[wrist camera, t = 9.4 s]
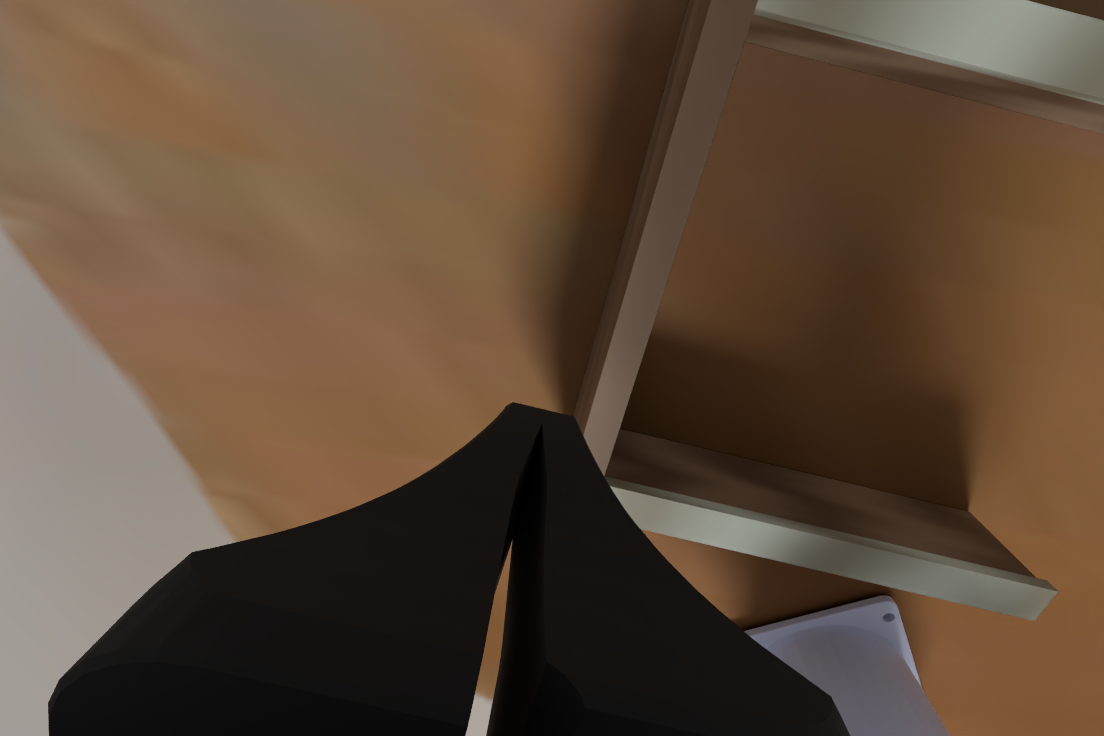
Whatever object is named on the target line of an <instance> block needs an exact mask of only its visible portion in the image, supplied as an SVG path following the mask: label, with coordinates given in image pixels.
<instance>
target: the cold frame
mask: <svg viewBox="0 0 1104 736" xmlns="http://www.w3.org/2000/svg"><path fill="white" fill-rule="evenodd" d="M744 42H748V43H752V44H756V45H760V46H763V47H767V48H771V49H775V50H779V51H783V52H787V53H791V54H794V55H798V56H802V57H806V58H810V59H814V60H818V61H822V62H825V63H829V64H833V65H837V66H841V67H845V68H849V69H853V70H856V71H860V72H864V73H868V74H872V75H876V76H880V77H884V78H887V79H891V80H895V81H899V82H903V83H907V84H911V85H915V86H918V87H922V88H926V89H930V90H934V91H938V92H942V93H946V94H949V95H953V96H957V97H961V98H965V99H969V100H973V101H977V102H980V103H984V104H988V105H992V106H996V107H1000V108H1004V109H1008V110H1011V111H1015V112H1019V113H1023V114H1027V115H1031V116H1035V117H1039V118H1042V119H1046V120H1050V121H1054V122H1058V123H1062V124H1066V125H1070V126H1074V127H1077V128H1081V129H1085V130H1089V131H1093V132H1097V133H1101V134H1104V20H1100V19H1096V18H1092V17H1088V16H1085V15H1081V14H1077V13H1073V12H1070V11H1066V10H1062V9H1058V8H1054V7H1051V6H1047V5H1043V4H1039V3H1035V2H1032V1H1028V0H689V3H688V7H687V10H686V14H685V17H684V21H683V24H682V28H681V32H680V35H679V39H678V42H677V46H676V49H675V53H674V57H673V60H672V64H671V67H670V71H669V74H668V78H667V82H666V85H665V89H664V92H663V96H662V99H661V103H660V107H659V110H658V114H657V117H656V121H655V124H654V128H653V132H652V135H651V139H650V142H649V146H648V150H647V153H646V157H645V160H644V164H643V167H642V171H641V175H640V178H639V182H638V185H637V189H636V192H635V196H634V200H633V203H632V207H631V210H630V214H629V217H628V221H627V225H626V228H625V232H624V235H623V239H622V242H621V246H620V250H619V253H618V257H617V260H616V264H615V268H614V271H613V275H612V278H611V282H610V285H609V289H608V293H607V296H606V300H605V303H604V307H603V310H602V314H601V318H600V321H599V325H598V328H597V332H596V335H595V339H594V343H593V346H592V350H591V353H590V357H589V360H588V364H587V368H586V371H585V375H584V378H583V382H582V385H581V389H580V393H579V396H578V400H577V403H576V407H575V411H574V414H573V417H575V419H576V421H577V422H578V424H579V427H580V429H581V431H582V434H583V436H584V438H585V440H586V442H587V444H588V447H589V449H590V451H591V453H592V455H593V457H594V459H595V461H596V462H597V464H598V466H599V468H600V470H601V471H602V473H603V475H604V477H605V479H606V480H607V482H608V484H609V485H610V487H611V489H612V490H613V492H614V494H615V495H616V497H617V498H618V500H619V501H620V503H621V504H622V506H623V507H624V509H625V510H626V511H627V513H628V514H629V515H630V517H631V518H632V519H633V521H634V522H635V523H636V524H637V526H638V527H639V528H640V529H643V530H647V531H651V532H655V533H660V534H664V535H668V536H673V537H677V538H681V539H685V540H690V541H694V542H698V543H703V544H707V545H711V546H715V547H720V548H724V549H728V550H733V551H737V552H741V553H745V554H750V555H754V556H758V557H763V558H767V559H771V560H775V561H780V562H784V563H788V564H793V565H797V566H801V567H805V568H810V569H814V570H818V571H823V572H827V573H831V574H835V575H840V576H844V577H848V578H853V579H857V580H861V581H865V582H870V583H874V584H878V585H883V586H887V587H891V588H895V589H900V590H904V591H908V592H913V593H917V594H921V595H925V596H930V597H934V598H938V599H942V600H947V601H951V602H955V603H960V604H964V605H968V606H972V607H977V608H981V609H985V610H990V611H994V612H998V613H1002V614H1007V615H1011V616H1015V617H1020V618H1024V619H1028V620H1032V621H1035V620H1036V618H1037V617H1038V616H1039V615H1040V613H1041V612H1042V611H1043V610H1044V609H1045V607H1046V606H1047V605H1048V604H1049V602H1050V601H1051V600H1052V599H1053V598H1054V596H1055V595H1056V594H1057V593H1058V591H1057V590H1056V589H1055V588H1054V587H1053V586H1052V585H1051V584H1050V583H1049V582H1048V581H1047V580H1042V579H1038V578H1036V577H1035V576H1034V575H1033V574H1032V573H1031V572H1030V571H1029V570H1028V569H1027V568H1026V567H1025V566H1024V565H1023V564H1022V563H1021V562H1020V561H1019V560H1018V559H1017V558H1016V557H1015V556H1014V555H1013V554H1012V553H1011V552H1010V551H1009V550H1008V549H1007V548H1006V547H1005V546H1003V545H1002V544H1001V543H1000V542H999V541H998V540H997V539H996V538H995V537H994V536H993V535H992V534H991V533H990V532H989V531H988V530H987V529H986V528H985V527H984V526H983V525H982V524H981V523H980V522H979V521H978V520H977V519H976V518H975V517H974V516H973V515H972V514H971V513H970V512H968V511H964V510H960V509H956V508H951V507H947V506H943V505H939V504H934V503H930V502H926V501H922V500H918V499H913V498H909V497H905V496H901V495H897V494H892V493H888V492H884V491H880V490H876V489H871V488H867V487H863V486H859V485H855V484H850V483H846V482H842V481H838V480H834V479H829V478H825V477H821V476H817V475H813V474H808V473H804V472H800V471H796V470H792V469H787V468H783V467H779V466H775V465H771V464H766V463H762V462H758V461H754V460H750V459H745V458H741V457H737V456H733V455H729V454H724V453H720V452H716V451H712V450H708V449H703V448H699V447H695V446H691V445H687V444H682V443H678V442H674V441H670V440H666V439H661V438H657V437H653V436H649V435H645V434H640V433H636V432H632V431H628V430H624V429H620V426H621V423H622V420H623V417H624V414H625V410H626V407H627V404H628V401H629V398H630V395H631V392H632V389H633V386H634V383H635V380H636V376H637V373H638V370H639V367H640V364H641V361H642V358H643V355H644V352H645V349H646V345H647V342H648V339H649V336H650V333H651V330H652V327H653V324H654V321H655V318H656V315H657V311H658V308H659V305H660V302H661V299H662V296H663V293H664V290H665V287H666V284H667V281H668V277H669V274H670V271H671V268H672V265H673V262H674V259H675V256H676V253H677V250H678V246H679V243H680V240H681V237H682V234H683V231H684V228H685V225H686V222H687V219H688V216H689V212H690V209H691V206H692V203H693V200H694V197H695V194H696V191H697V188H698V185H699V182H700V178H701V175H702V172H703V169H704V166H705V163H706V160H707V157H708V154H709V151H710V147H711V144H712V141H713V138H714V135H715V132H716V129H717V126H718V123H719V120H720V117H721V113H722V110H723V107H724V104H725V101H726V98H727V95H728V92H729V89H730V86H731V83H732V79H733V76H734V73H735V70H736V67H737V64H738V61H739V58H740V55H741V52H742V48H743V45H744Z"/></svg>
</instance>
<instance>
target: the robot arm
mask: <svg viewBox="0 0 1104 736" xmlns="http://www.w3.org/2000/svg"><path fill="white" fill-rule="evenodd" d="M512 539H513V541H512ZM511 542H512V551H511V561H510V571H509V581H508V591H507V602H506V612H505V622H504V633H503V643H502V651H501V658H500V665H499V672H498V677H497V682H496V688H495V693H494V698H493V703H492V708H491V714H490V719H489V725H488V730H487V735H486V736H950V734H949V733H948V731H947V729H946V728H945V726H944V724H943V723H942V721H941V719H940V718H939V716H938V714H937V713H936V711H935V709H934V708H933V706H932V704H931V703H930V701H929V699H928V698H927V696H926V694H925V693H924V691H923V689H922V686H921V682H920V679H919V676H918V673H917V669H916V666H915V663H914V659H913V656H912V653H911V649H910V646H909V643H908V639H907V636H906V633H905V630H904V626H903V623H902V620H901V616H900V613H899V610H898V606H897V605H896V603H895V602H894V600H893V599H892V598H891V597H889V596H885V595H883V596H877V597H873V598H869V599H866V600H862V601H858V602H854V603H850V604H846V605H843V606H839V607H835V608H831V609H827V610H823V611H819V612H816V613H812V614H808V615H804V616H800V617H796V618H792V619H789V620H785V621H781V622H777V623H773V624H769V625H766V626H762V627H758V628H754V629H750V630H746V631H743V630H742V629H741V628H739V627H738V626H737V625H736V624H735V623H733V622H732V621H731V620H730V619H729V618H728V617H726V616H725V615H724V614H723V613H722V612H720V611H719V610H718V609H717V608H716V607H715V606H714V605H713V604H711V603H710V602H709V601H708V600H707V599H706V598H705V597H704V596H703V595H702V594H700V593H699V592H698V591H697V590H696V589H695V588H694V587H693V586H692V585H691V584H690V583H689V582H688V581H687V580H686V579H685V578H684V577H683V576H682V575H681V574H680V573H679V572H678V571H677V570H676V569H675V568H674V567H673V566H672V565H671V564H670V563H669V562H668V561H667V560H666V558H665V557H664V556H663V555H662V554H661V553H660V552H659V551H658V550H657V549H656V547H655V546H654V545H653V544H652V543H651V541H650V540H649V539H648V538H647V537H646V535H645V534H644V533H643V532H642V531H641V529H640V528H639V527H638V526H637V524H636V523H635V522H634V521H633V519H632V518H631V517H630V515H629V514H628V513H627V511H626V510H625V509H624V507H623V506H622V504H621V503H620V501H619V500H618V498H617V497H616V495H615V494H614V492H613V490H612V489H611V487H610V485H609V484H608V482H607V480H606V479H605V477H604V475H603V473H602V471H601V470H600V468H599V466H598V464H597V462H596V461H595V459H594V457H593V455H592V453H591V451H590V449H589V447H588V444H587V442H586V440H585V438H584V436H583V434H582V431H581V429H580V427H579V424H578V422H577V421H576V419H575V417H573V416H569V415H565V414H560V413H556V412H552V411H548V410H544V409H539V408H535V407H531V406H527V405H523V404H518V403H514V402H513V403H511V404H509V405H507V406H506V407H505V409H504V410H503V411H502V412H501V413H500V414H499V416H498V417H497V418H496V419H495V420H494V421H493V422H492V423H490V424H489V425H488V426H487V427H486V428H485V429H484V430H483V431H482V432H481V433H479V434H478V435H477V436H476V437H475V438H473V439H472V440H471V441H470V442H469V443H468V444H466V445H465V446H464V447H462V448H461V449H460V450H458V451H457V452H455V453H454V454H453V455H451V456H450V457H448V458H447V459H446V460H444V461H443V462H441V463H440V464H439V465H437V466H436V467H434V468H432V469H431V470H429V471H428V472H426V473H424V474H423V475H421V476H419V477H418V478H416V479H414V480H412V481H411V482H409V483H407V484H405V485H403V486H402V487H400V488H398V489H396V490H394V491H392V492H389V493H387V494H385V495H383V496H380V497H378V498H376V499H373V500H371V501H369V502H366V503H364V504H362V505H360V506H357V507H355V508H352V509H350V510H347V511H344V512H341V513H339V514H336V515H333V516H330V517H327V518H324V519H321V520H318V521H315V522H312V523H308V524H305V525H302V526H299V527H296V528H292V529H289V530H285V531H281V532H278V533H274V534H270V535H266V536H262V537H257V538H253V539H249V540H245V541H240V542H236V543H232V544H228V545H224V546H219V547H215V548H210V549H205V550H200V551H196V552H192V553H191V554H189V555H188V556H187V557H186V558H185V559H184V560H183V561H182V562H180V563H179V564H178V565H177V566H176V567H175V568H173V569H172V570H171V571H170V572H169V573H168V574H166V575H165V576H164V577H163V578H162V579H160V580H159V581H158V582H157V583H156V584H154V585H153V586H152V587H151V588H150V589H149V590H148V591H147V592H146V593H145V594H144V595H143V596H142V597H141V598H140V599H139V600H138V601H137V602H136V603H135V604H134V605H132V607H130V609H129V610H128V611H127V612H126V613H125V614H124V615H123V616H122V617H121V618H120V619H119V620H118V621H117V622H116V623H115V624H114V625H113V626H112V627H111V628H110V629H109V630H108V631H107V632H106V633H105V634H104V635H103V636H102V637H101V638H100V639H99V640H98V641H97V642H96V643H95V644H94V645H93V646H92V647H91V648H90V649H89V650H88V651H87V652H86V653H85V654H84V655H83V656H82V657H81V658H80V659H79V660H78V661H77V662H76V663H75V664H74V665H73V666H72V667H71V668H70V669H69V670H68V671H67V672H66V674H64V676H62V677H61V678H60V680H59V682H58V684H57V686H56V688H55V690H54V692H53V694H52V696H51V698H50V700H49V702H48V714H49V736H465V734H466V731H467V727H468V722H469V718H470V713H471V709H472V704H473V700H474V695H475V690H476V686H477V681H478V676H479V672H480V667H481V662H482V658H483V653H484V647H485V642H486V636H487V631H488V625H489V620H490V615H491V610H492V604H493V599H494V594H495V591H496V588H497V585H498V582H499V579H500V576H501V573H502V570H503V567H504V564H505V561H506V557H507V554H508V551H509V548H510V545H511ZM885 614H886V615H885Z"/></svg>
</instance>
